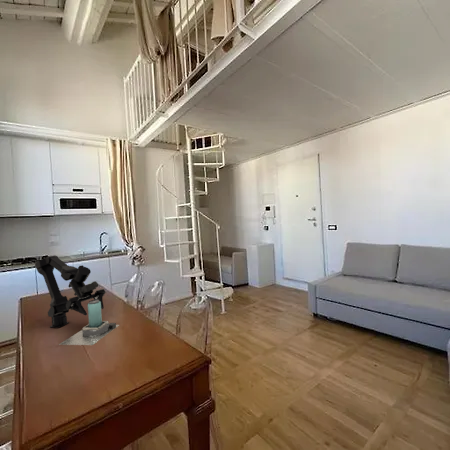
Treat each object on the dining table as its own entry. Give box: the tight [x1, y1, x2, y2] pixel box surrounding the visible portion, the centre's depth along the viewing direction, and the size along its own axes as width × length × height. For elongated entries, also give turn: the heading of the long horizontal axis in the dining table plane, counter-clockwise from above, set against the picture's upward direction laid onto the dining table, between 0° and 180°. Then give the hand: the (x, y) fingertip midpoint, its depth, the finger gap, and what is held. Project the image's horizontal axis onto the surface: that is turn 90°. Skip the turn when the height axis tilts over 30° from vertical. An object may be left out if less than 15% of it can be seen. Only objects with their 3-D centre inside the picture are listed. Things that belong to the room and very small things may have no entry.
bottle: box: [87, 299, 103, 328], centre depth 130 cm, size 6×6×13 cm
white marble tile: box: [58, 320, 120, 346], centre depth 127 cm, size 17×22×5 cm
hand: (94, 311), depth 130 cm, fingers open, 9 cm apart
